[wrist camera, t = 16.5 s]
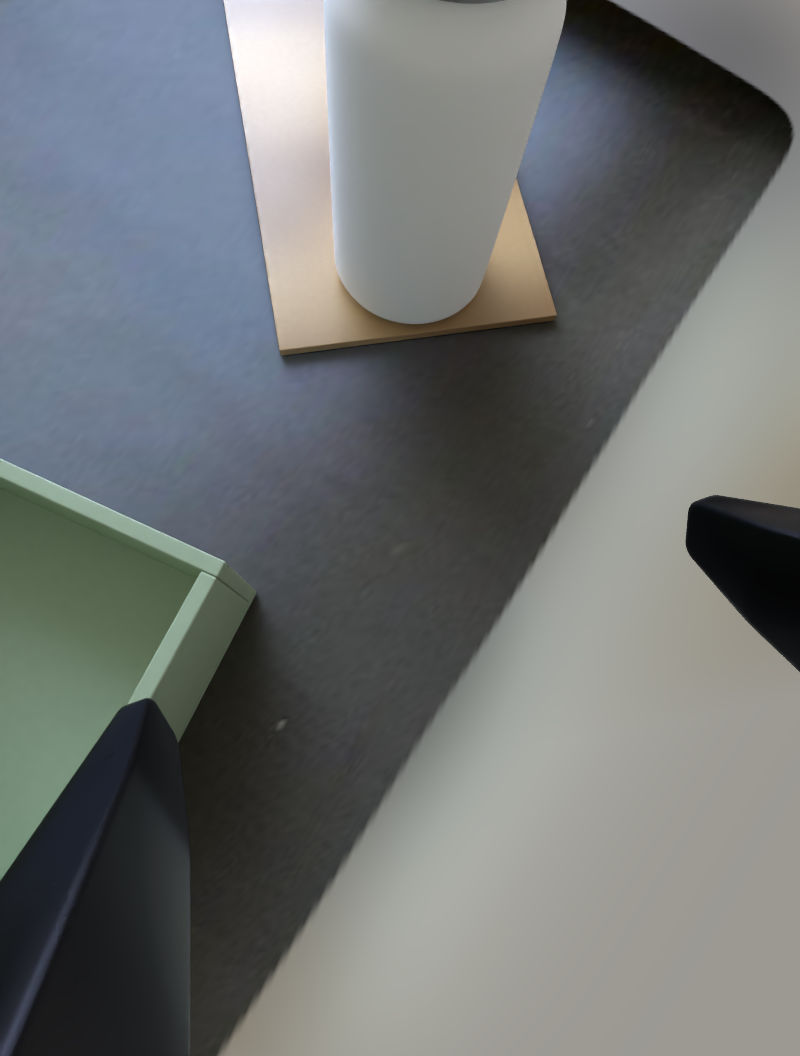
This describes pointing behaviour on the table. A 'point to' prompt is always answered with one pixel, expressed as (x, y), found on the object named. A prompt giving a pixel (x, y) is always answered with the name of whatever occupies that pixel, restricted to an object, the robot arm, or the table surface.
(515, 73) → the can
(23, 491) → the chest
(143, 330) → the table surface
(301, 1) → the tan flat long board
